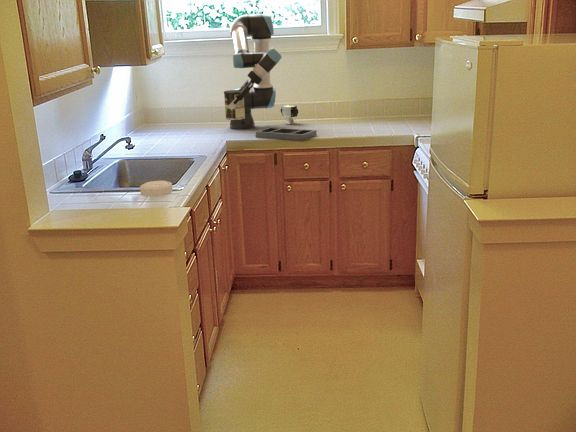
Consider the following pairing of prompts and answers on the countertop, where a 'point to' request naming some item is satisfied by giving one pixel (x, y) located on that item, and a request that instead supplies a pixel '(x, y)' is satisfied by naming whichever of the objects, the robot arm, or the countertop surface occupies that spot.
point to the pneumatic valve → (289, 113)
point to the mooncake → (156, 188)
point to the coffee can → (239, 109)
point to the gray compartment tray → (286, 133)
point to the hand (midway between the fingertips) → (229, 107)
